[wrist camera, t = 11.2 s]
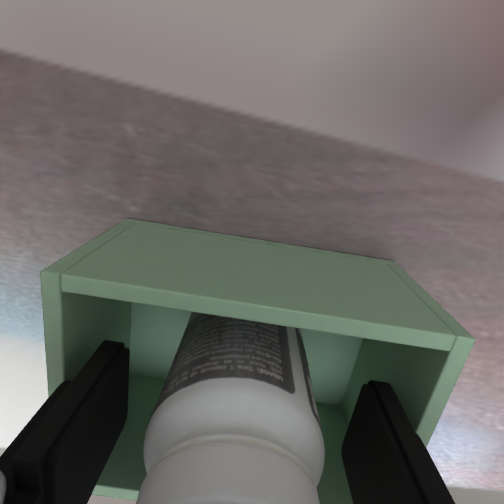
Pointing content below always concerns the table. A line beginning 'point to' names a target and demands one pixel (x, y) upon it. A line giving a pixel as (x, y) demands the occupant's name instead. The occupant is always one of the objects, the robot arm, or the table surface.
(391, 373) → the bin
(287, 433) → the pill bottle
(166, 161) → the table surface
